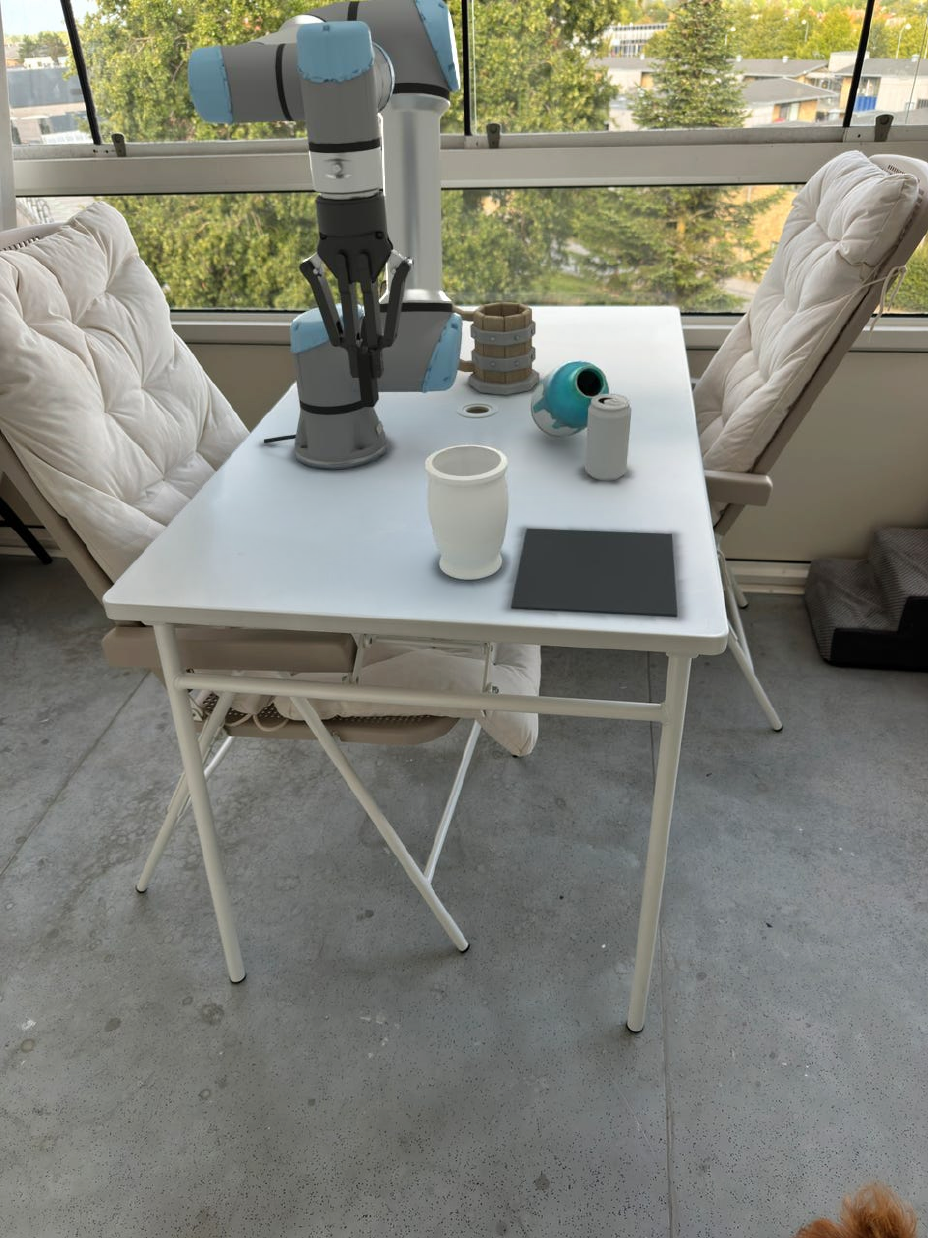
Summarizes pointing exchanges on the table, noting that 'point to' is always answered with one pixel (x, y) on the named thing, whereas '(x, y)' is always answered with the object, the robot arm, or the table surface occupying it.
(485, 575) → the jar
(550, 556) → the mat
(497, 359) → the tankard
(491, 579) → the table surface
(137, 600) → the table surface
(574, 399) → the vase
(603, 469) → the beverage can
